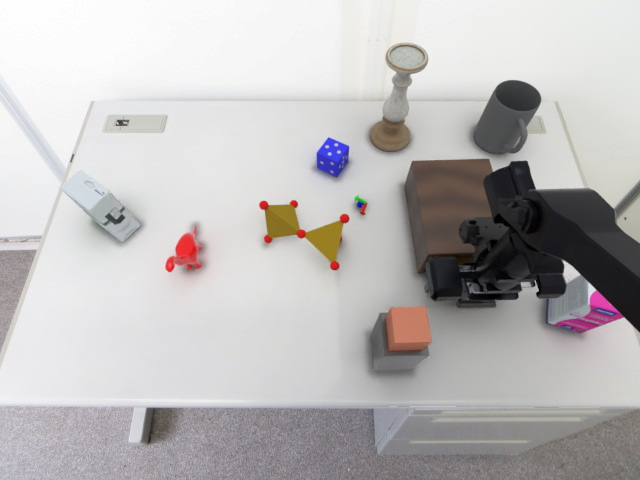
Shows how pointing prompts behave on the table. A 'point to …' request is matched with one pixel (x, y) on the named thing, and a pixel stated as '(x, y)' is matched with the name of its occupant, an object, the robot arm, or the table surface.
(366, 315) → the table surface
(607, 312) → the supplement box
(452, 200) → the cabinet
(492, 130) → the mug
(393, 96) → the candle holder
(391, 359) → the pedestal
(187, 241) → the dinosaur
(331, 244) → the molecule model
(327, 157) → the die
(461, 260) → the drawer
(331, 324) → the table surface
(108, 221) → the ink box
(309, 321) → the table surface
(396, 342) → the block
